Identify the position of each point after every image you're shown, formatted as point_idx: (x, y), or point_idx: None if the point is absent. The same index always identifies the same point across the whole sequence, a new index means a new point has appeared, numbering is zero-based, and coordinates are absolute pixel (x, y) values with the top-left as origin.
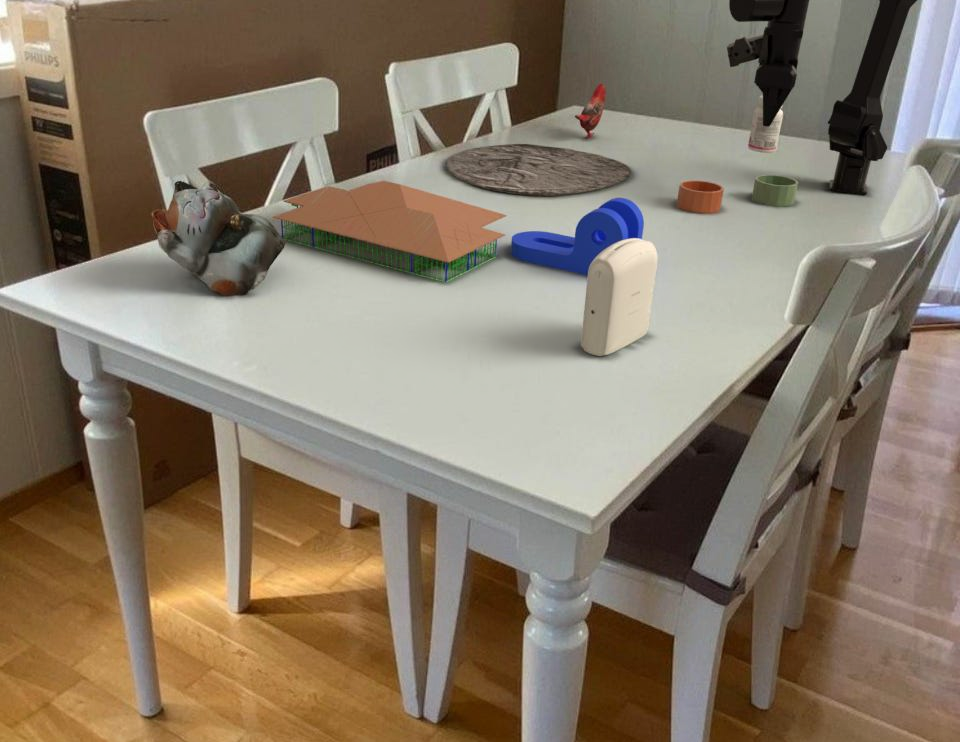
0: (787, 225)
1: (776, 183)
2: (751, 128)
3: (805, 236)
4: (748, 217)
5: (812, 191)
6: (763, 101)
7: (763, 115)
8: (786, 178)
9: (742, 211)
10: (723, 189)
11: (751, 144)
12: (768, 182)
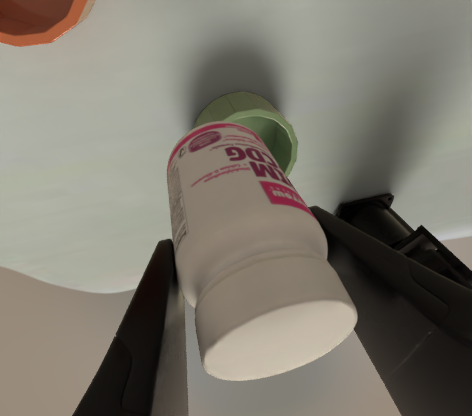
0: (69, 201)
1: (285, 145)
2: (213, 163)
3: (25, 239)
4: (53, 122)
5: (332, 182)
6: (96, 373)
7: (141, 282)
8: (284, 171)
9: (95, 97)
10: (29, 45)
11: (181, 147)
12: (282, 129)
